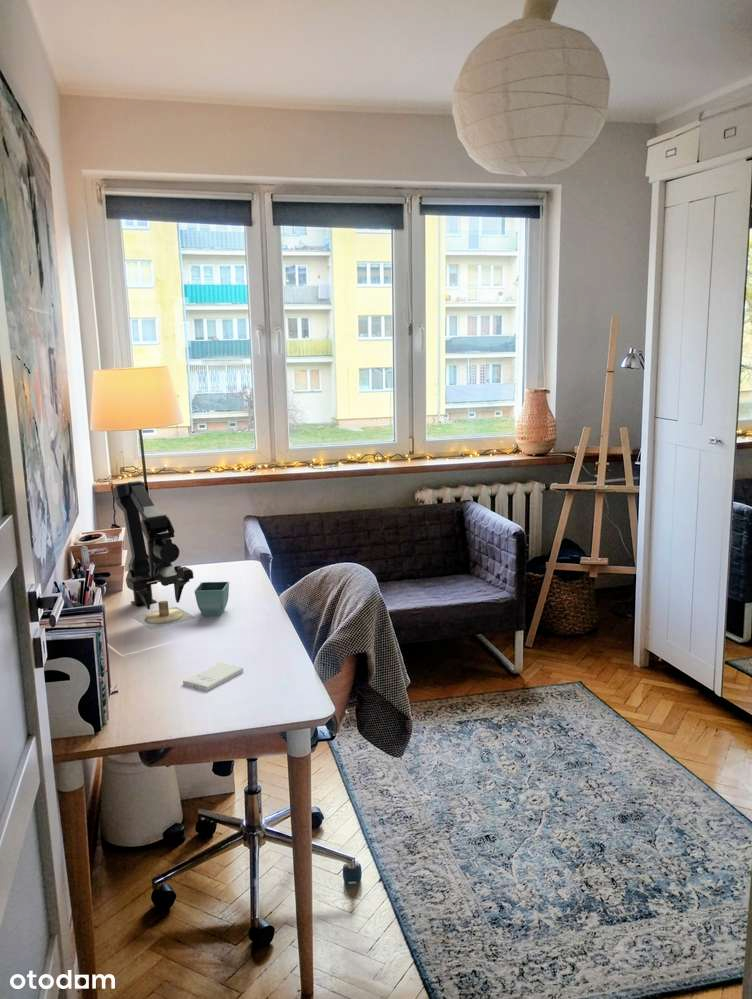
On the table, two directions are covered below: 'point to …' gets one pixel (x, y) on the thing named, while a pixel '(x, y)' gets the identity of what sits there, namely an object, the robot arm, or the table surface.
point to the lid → (164, 614)
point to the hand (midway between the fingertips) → (163, 605)
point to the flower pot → (212, 597)
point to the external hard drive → (213, 676)
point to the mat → (151, 625)
